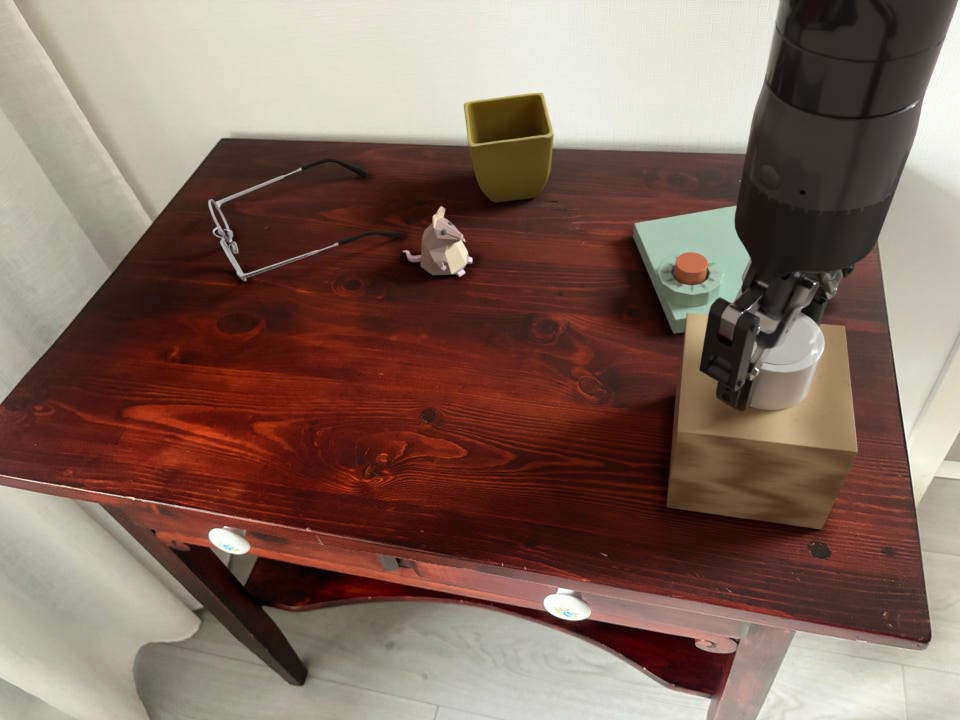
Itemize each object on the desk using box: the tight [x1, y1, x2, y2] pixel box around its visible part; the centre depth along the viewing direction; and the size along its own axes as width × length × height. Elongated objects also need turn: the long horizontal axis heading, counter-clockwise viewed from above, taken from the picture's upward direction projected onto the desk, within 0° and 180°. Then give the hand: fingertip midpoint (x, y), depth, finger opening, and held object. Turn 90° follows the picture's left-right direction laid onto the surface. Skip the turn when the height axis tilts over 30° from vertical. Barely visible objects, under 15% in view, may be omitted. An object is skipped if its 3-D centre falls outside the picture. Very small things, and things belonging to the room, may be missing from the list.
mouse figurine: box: [402, 205, 473, 278], centre depth 76 cm, size 5×8×7 cm, turn 64°
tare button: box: [674, 252, 708, 285], centre depth 68 cm, size 3×3×2 cm
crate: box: [666, 313, 859, 530], centre depth 55 cm, size 11×11×10 cm
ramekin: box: [749, 312, 825, 410], centre depth 50 cm, size 6×6×4 cm
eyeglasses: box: [207, 158, 404, 283], centre depth 83 cm, size 16×19×5 cm
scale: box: [632, 205, 751, 335], centre depth 72 cm, size 14×14×4 cm
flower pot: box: [463, 92, 555, 203], centre depth 82 cm, size 9×9×9 cm
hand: (766, 366), depth 51 cm, fingers open, 7 cm apart
